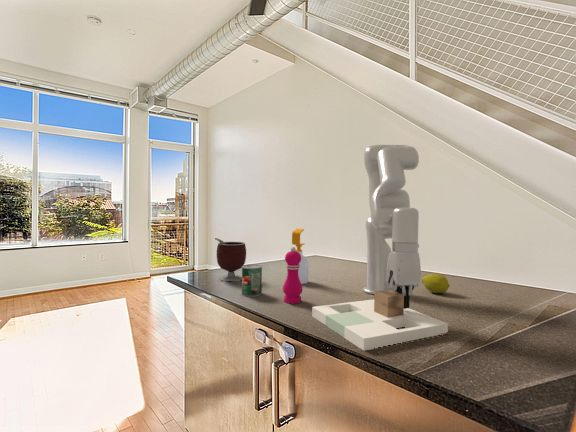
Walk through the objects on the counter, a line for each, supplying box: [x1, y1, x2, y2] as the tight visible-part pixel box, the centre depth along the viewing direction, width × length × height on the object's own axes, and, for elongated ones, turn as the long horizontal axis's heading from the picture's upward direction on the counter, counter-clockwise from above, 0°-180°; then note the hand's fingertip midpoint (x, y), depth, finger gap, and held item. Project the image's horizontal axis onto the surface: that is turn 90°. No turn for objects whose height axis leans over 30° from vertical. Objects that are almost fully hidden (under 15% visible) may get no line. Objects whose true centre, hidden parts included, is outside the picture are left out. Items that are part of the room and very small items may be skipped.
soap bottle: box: [291, 228, 310, 285], centre depth 151 cm, size 9×9×25 cm
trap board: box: [311, 298, 449, 351], centre depth 97 cm, size 28×27×3 cm
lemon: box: [421, 273, 451, 295], centre depth 135 cm, size 11×8×8 cm
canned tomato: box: [241, 264, 263, 297], centre depth 130 cm, size 8×8×11 cm
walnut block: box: [373, 290, 404, 318], centre depth 99 cm, size 6×6×6 cm
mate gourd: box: [214, 237, 247, 282], centre depth 156 cm, size 16×14×20 cm
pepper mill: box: [282, 246, 303, 305], centre depth 121 cm, size 7×7×20 cm
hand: (403, 307), depth 101 cm, fingers closed
